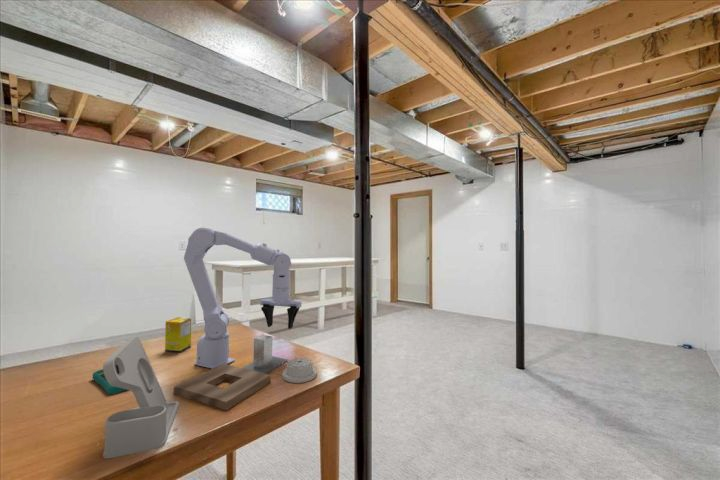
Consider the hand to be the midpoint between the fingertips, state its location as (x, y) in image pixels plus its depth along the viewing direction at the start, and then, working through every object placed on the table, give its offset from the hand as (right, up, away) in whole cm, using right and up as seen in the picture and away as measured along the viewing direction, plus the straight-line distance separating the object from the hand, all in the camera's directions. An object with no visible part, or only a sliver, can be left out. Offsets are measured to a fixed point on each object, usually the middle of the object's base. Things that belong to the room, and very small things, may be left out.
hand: (280, 327), depth 105 cm
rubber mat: (-3, -10, -7) cm, 13 cm away
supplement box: (-38, -10, +5) cm, 40 cm away
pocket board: (-9, -10, -22) cm, 26 cm away
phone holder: (-18, -10, -40) cm, 45 cm away
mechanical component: (+9, -11, -14) cm, 20 cm away
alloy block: (-4, -10, -8) cm, 13 cm away
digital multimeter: (-40, -10, -20) cm, 46 cm away
